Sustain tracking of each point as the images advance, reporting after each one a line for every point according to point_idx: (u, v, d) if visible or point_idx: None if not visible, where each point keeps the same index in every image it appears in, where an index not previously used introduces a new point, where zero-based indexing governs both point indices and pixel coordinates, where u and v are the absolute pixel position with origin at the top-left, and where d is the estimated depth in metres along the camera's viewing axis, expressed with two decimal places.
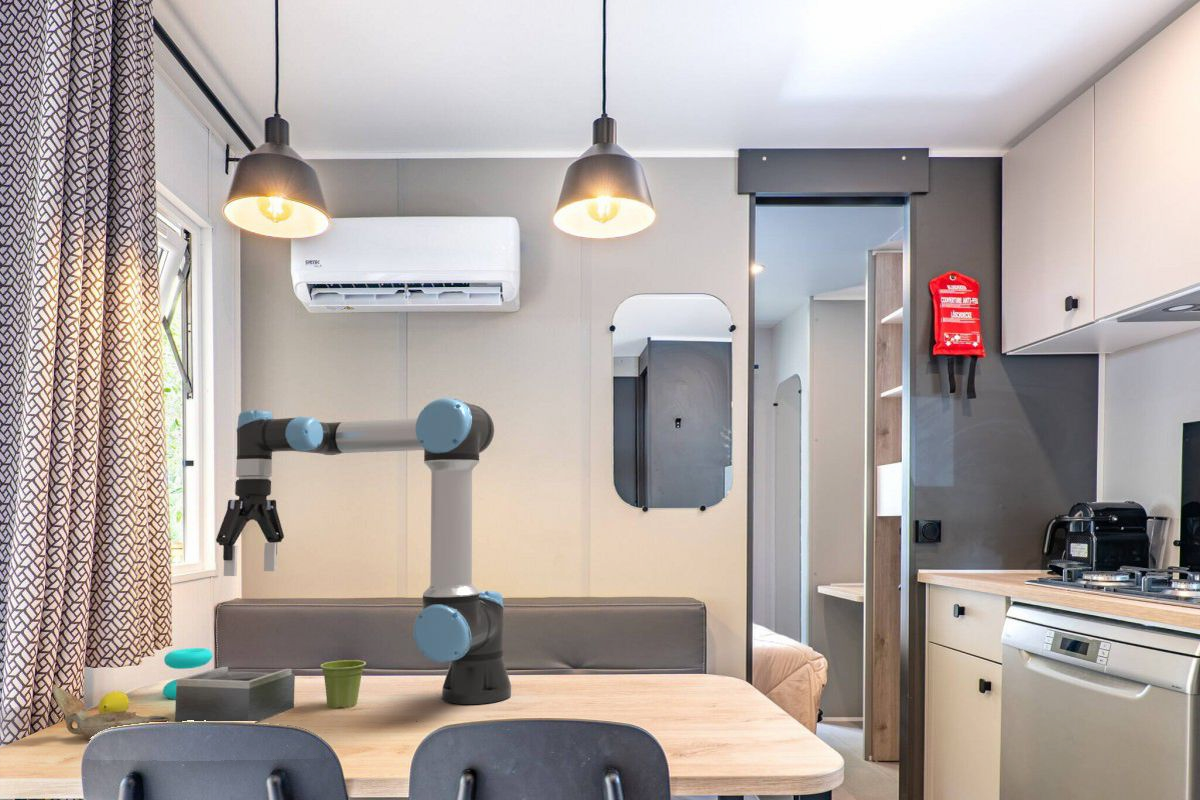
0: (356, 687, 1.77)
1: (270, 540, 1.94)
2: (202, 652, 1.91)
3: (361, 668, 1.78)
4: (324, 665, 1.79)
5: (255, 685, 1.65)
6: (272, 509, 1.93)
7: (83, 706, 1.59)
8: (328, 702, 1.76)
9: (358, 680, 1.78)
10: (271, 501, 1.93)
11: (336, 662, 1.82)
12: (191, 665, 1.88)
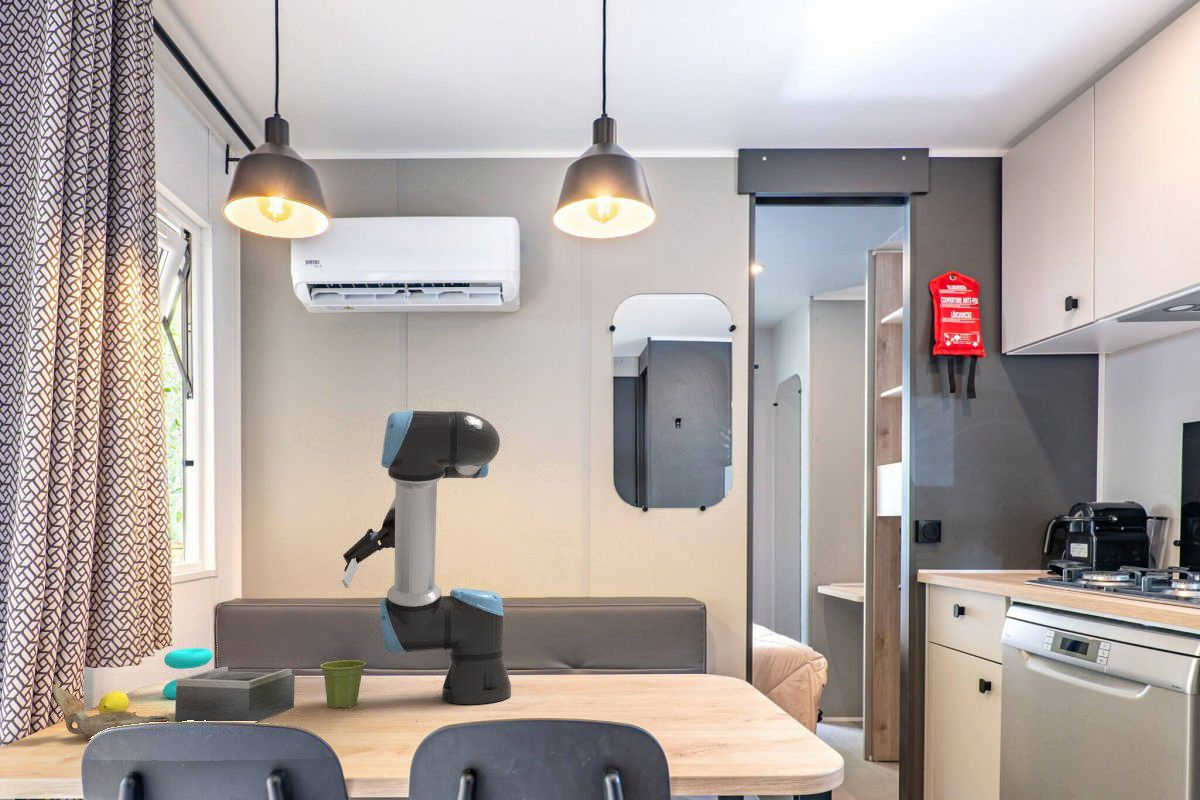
0: (356, 687, 1.77)
1: None
2: (202, 652, 1.91)
3: (361, 668, 1.78)
4: (324, 665, 1.79)
5: (255, 685, 1.65)
6: None
7: (84, 706, 1.59)
8: (328, 702, 1.76)
9: (358, 680, 1.78)
10: None
11: (336, 662, 1.82)
12: (191, 665, 1.88)
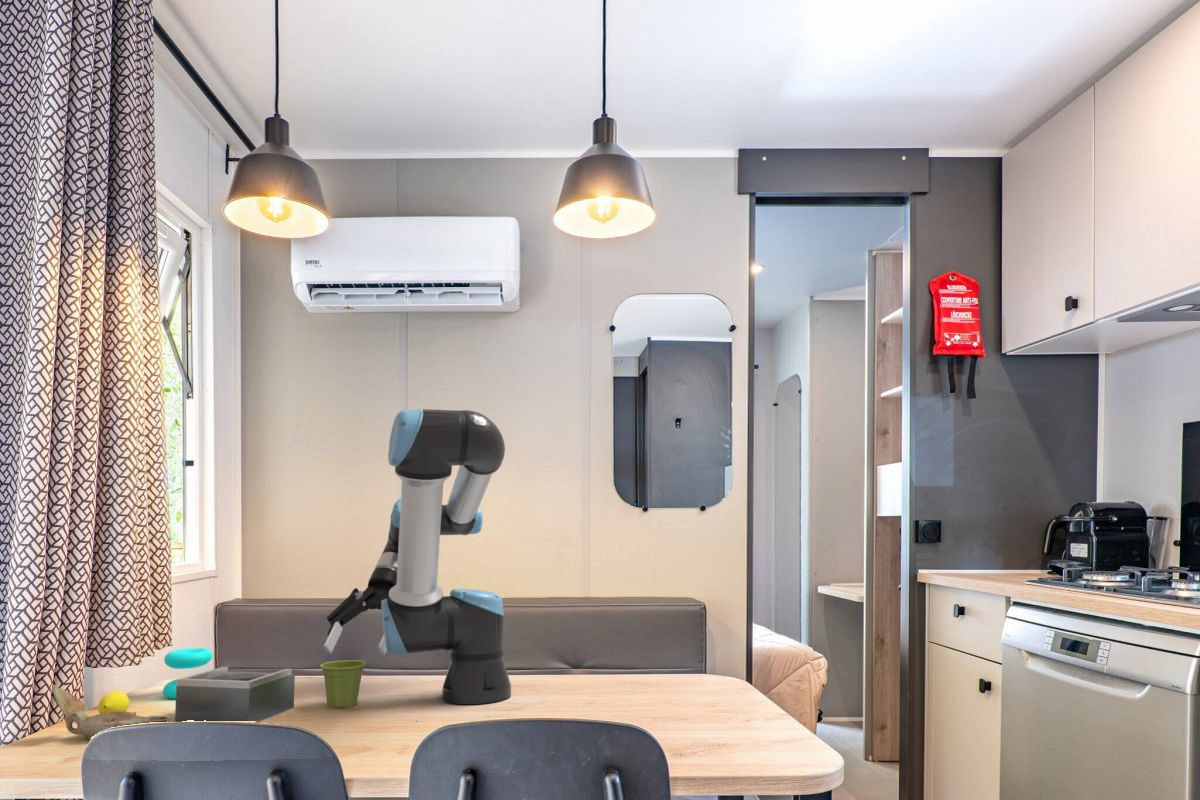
0: (356, 687, 1.77)
1: None
2: (202, 652, 1.91)
3: (361, 668, 1.78)
4: (324, 665, 1.79)
5: (255, 685, 1.65)
6: None
7: (83, 706, 1.59)
8: (328, 702, 1.76)
9: (358, 680, 1.78)
10: None
11: (336, 662, 1.82)
12: (191, 665, 1.88)
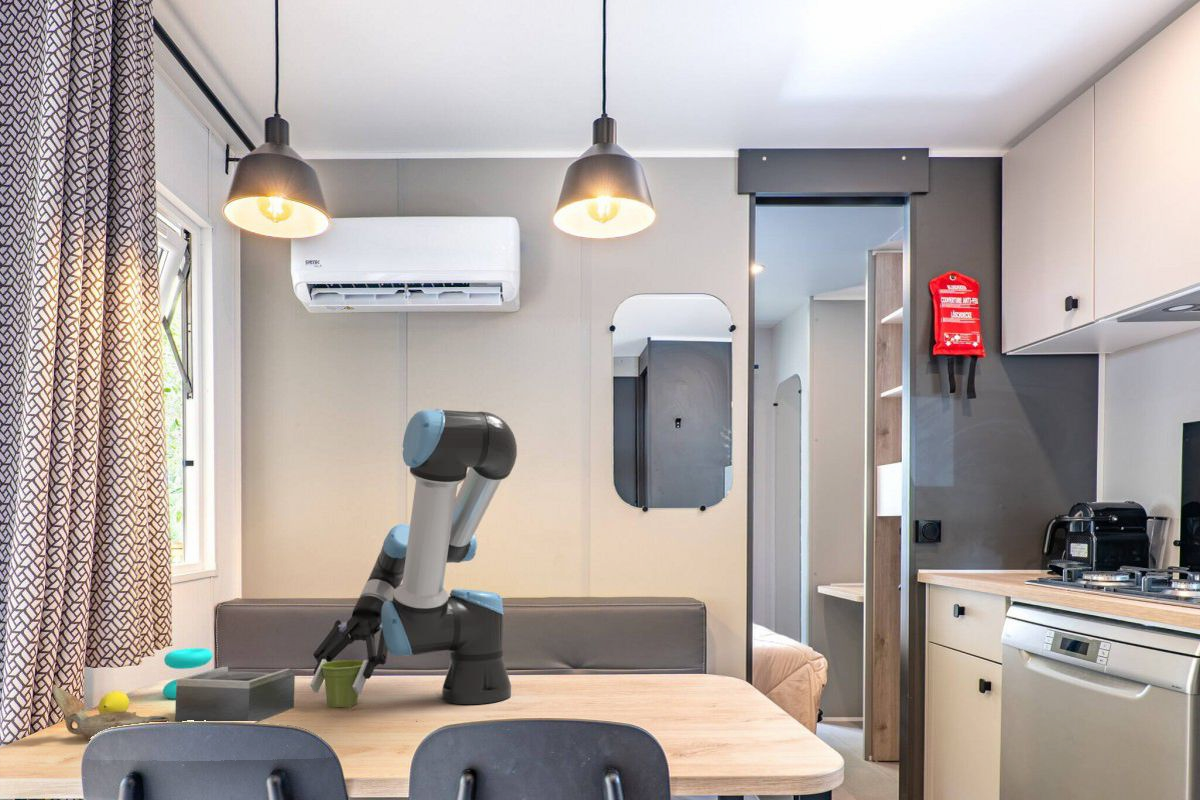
0: None
1: None
2: (202, 652, 1.91)
3: None
4: (324, 665, 1.79)
5: (255, 685, 1.65)
6: None
7: (83, 706, 1.59)
8: (328, 702, 1.76)
9: None
10: None
11: (336, 661, 1.82)
12: (191, 665, 1.88)
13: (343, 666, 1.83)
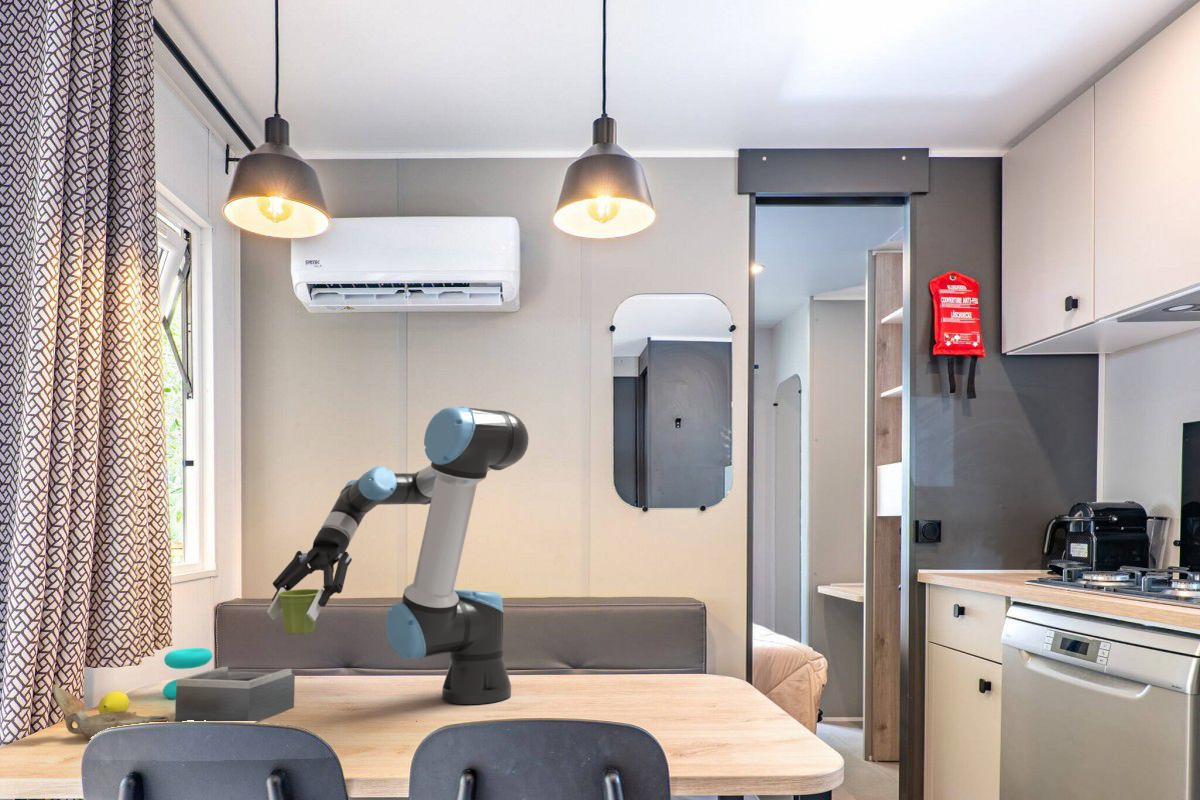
0: None
1: None
2: (202, 652, 1.91)
3: None
4: (282, 593, 1.83)
5: (255, 685, 1.65)
6: None
7: (84, 706, 1.59)
8: (285, 629, 1.79)
9: None
10: None
11: (295, 590, 1.85)
12: (191, 665, 1.88)
13: (302, 595, 1.86)
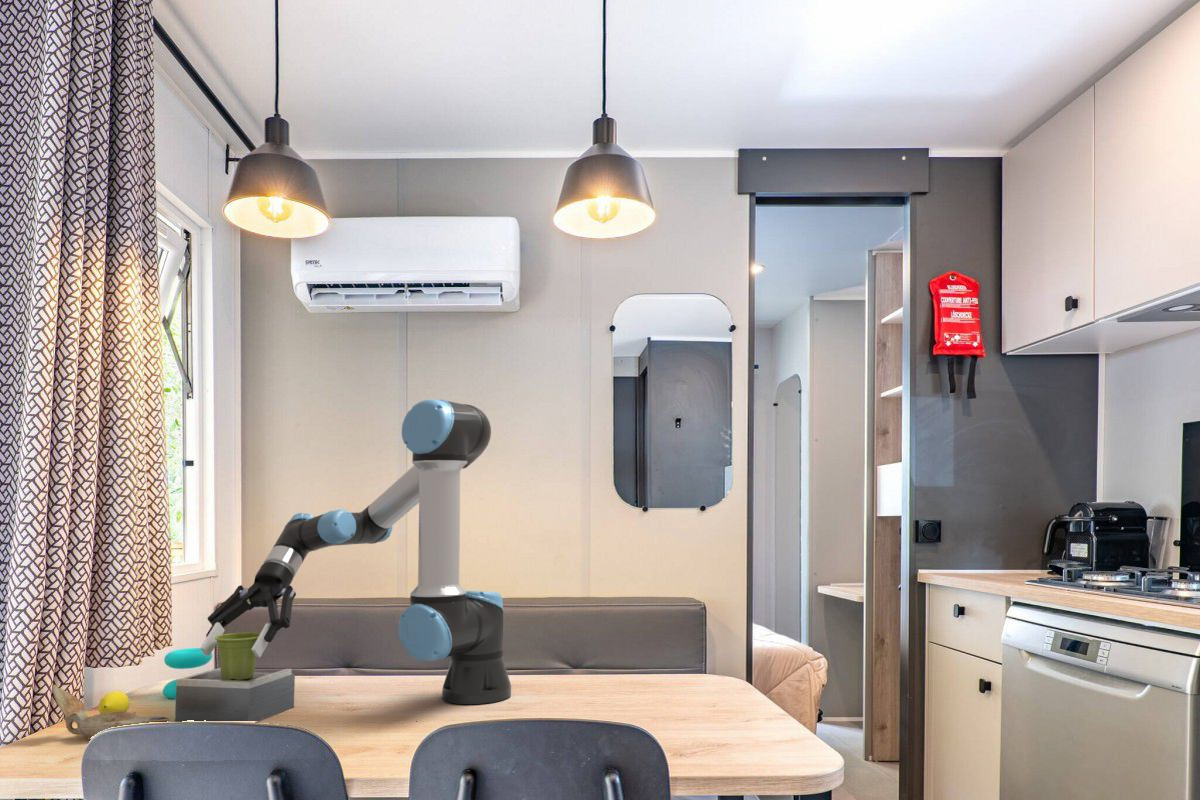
0: (251, 659, 1.72)
1: None
2: (202, 652, 1.91)
3: None
4: (220, 637, 1.74)
5: (255, 685, 1.65)
6: None
7: (83, 706, 1.59)
8: (222, 674, 1.71)
9: None
10: None
11: (234, 634, 1.77)
12: (191, 665, 1.88)
13: (241, 639, 1.78)
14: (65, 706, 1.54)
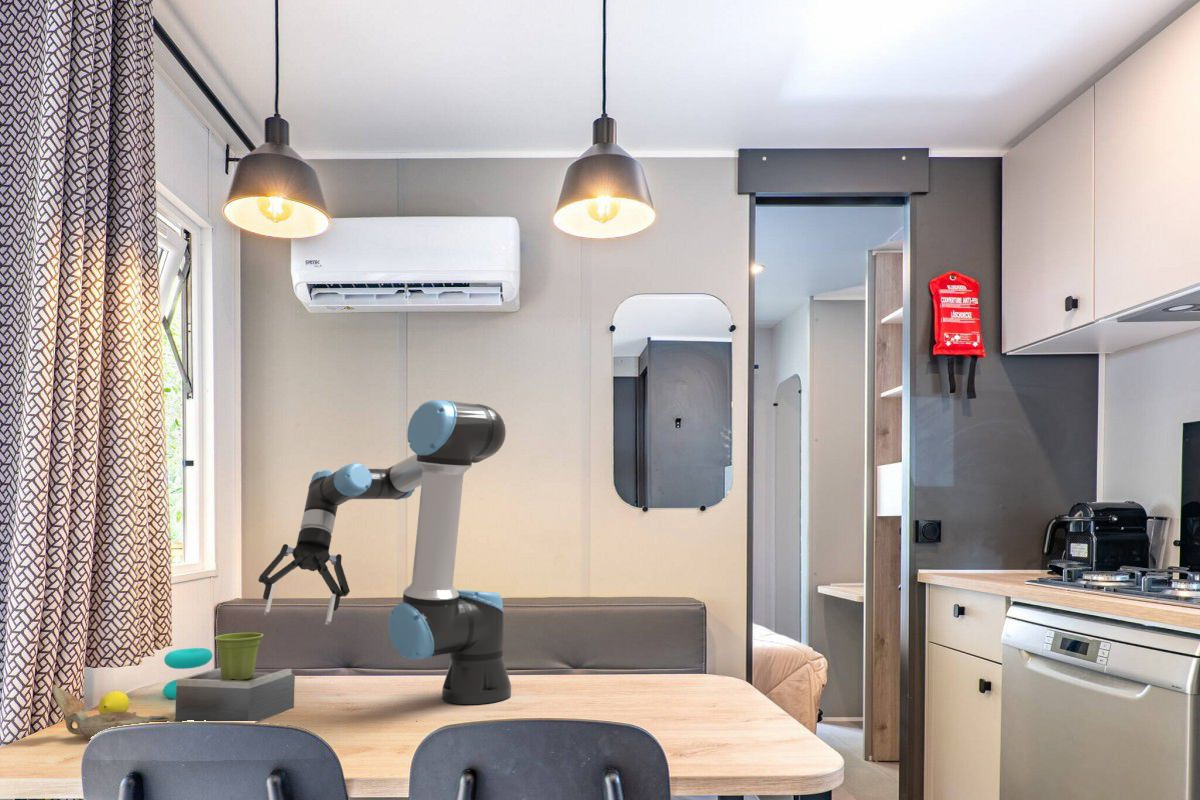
0: (251, 659, 1.72)
1: None
2: (202, 652, 1.91)
3: (257, 640, 1.73)
4: (220, 637, 1.74)
5: (255, 685, 1.65)
6: (335, 562, 1.97)
7: (83, 706, 1.59)
8: (222, 675, 1.71)
9: (254, 652, 1.73)
10: None
11: (234, 634, 1.77)
12: (191, 665, 1.88)
13: (241, 639, 1.78)
14: (65, 706, 1.54)
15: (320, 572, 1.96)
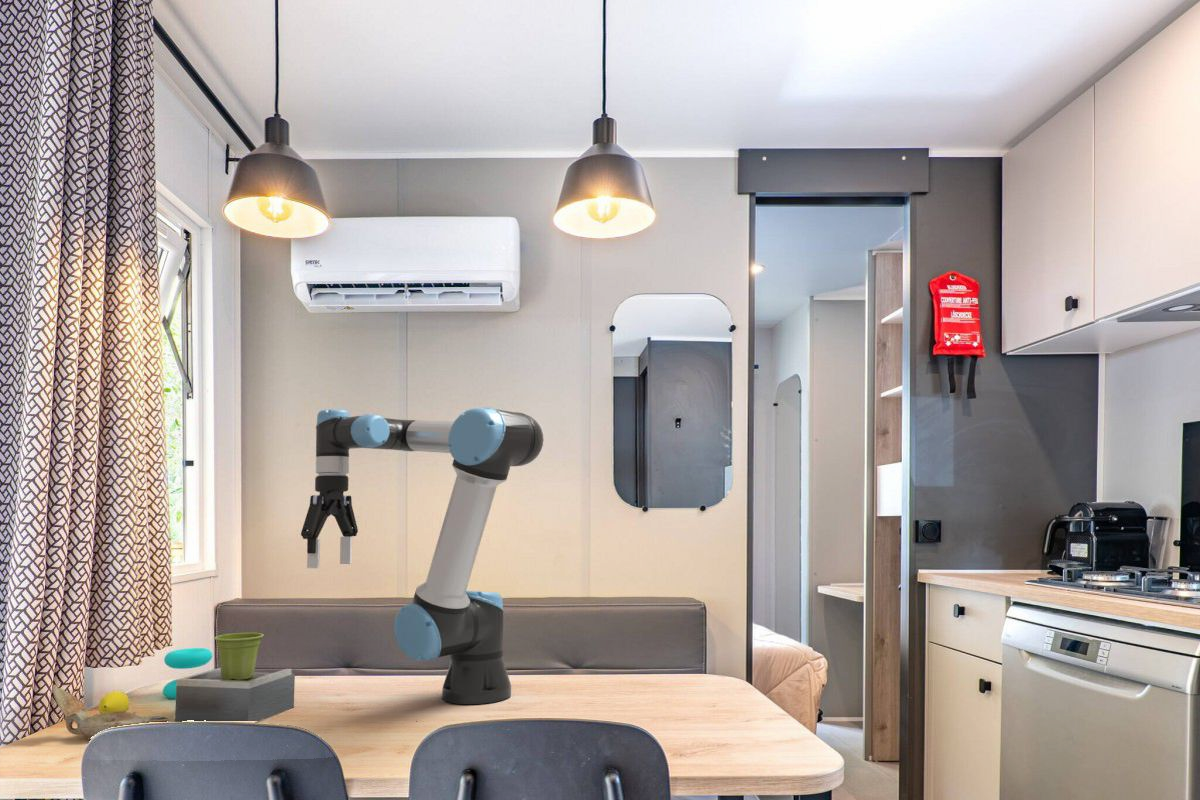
0: (251, 659, 1.72)
1: (345, 534, 2.01)
2: (202, 652, 1.91)
3: (257, 640, 1.73)
4: (220, 637, 1.74)
5: (255, 685, 1.65)
6: (348, 504, 2.01)
7: (83, 706, 1.59)
8: (222, 675, 1.71)
9: (254, 652, 1.73)
10: (347, 497, 2.01)
11: (234, 634, 1.77)
12: (191, 665, 1.88)
13: (241, 639, 1.78)
14: (65, 706, 1.54)
15: (335, 514, 1.98)
